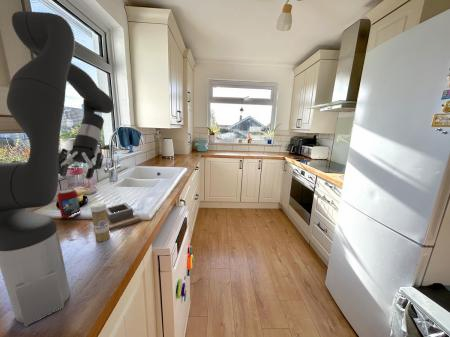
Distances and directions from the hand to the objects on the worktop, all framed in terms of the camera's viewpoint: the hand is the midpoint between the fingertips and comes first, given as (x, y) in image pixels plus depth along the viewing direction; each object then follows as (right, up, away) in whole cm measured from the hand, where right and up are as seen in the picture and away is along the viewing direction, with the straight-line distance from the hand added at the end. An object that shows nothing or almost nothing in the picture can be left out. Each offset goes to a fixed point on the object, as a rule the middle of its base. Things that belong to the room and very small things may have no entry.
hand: (75, 177), depth 70 cm
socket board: (+9, -19, +14) cm, 25 cm away
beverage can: (-14, -18, +15) cm, 28 cm away
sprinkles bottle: (+11, -22, -1) cm, 25 cm away
